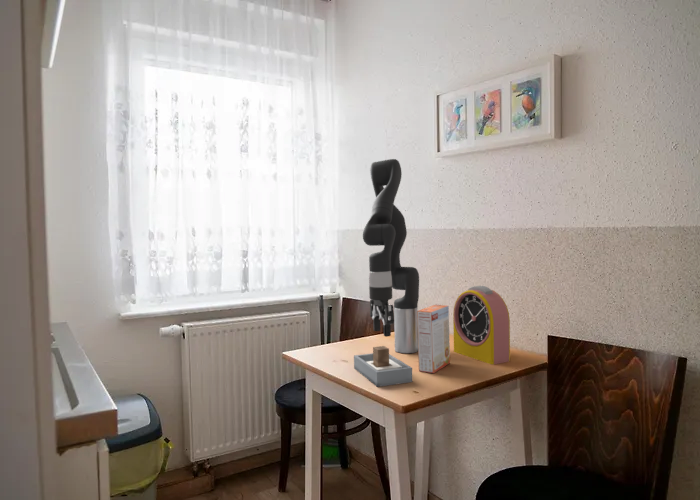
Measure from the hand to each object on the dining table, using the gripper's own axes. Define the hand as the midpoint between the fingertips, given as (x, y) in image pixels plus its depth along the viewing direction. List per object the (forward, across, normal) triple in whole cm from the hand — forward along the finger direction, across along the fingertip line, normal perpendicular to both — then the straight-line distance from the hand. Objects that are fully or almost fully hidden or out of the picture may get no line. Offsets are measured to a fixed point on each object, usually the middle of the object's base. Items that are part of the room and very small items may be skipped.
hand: (381, 333), depth 155 cm
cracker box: (+14, 0, -20) cm, 24 cm away
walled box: (+14, 0, 0) cm, 14 cm away
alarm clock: (+15, +6, -43) cm, 45 cm away
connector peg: (+13, 0, +1) cm, 13 cm away
